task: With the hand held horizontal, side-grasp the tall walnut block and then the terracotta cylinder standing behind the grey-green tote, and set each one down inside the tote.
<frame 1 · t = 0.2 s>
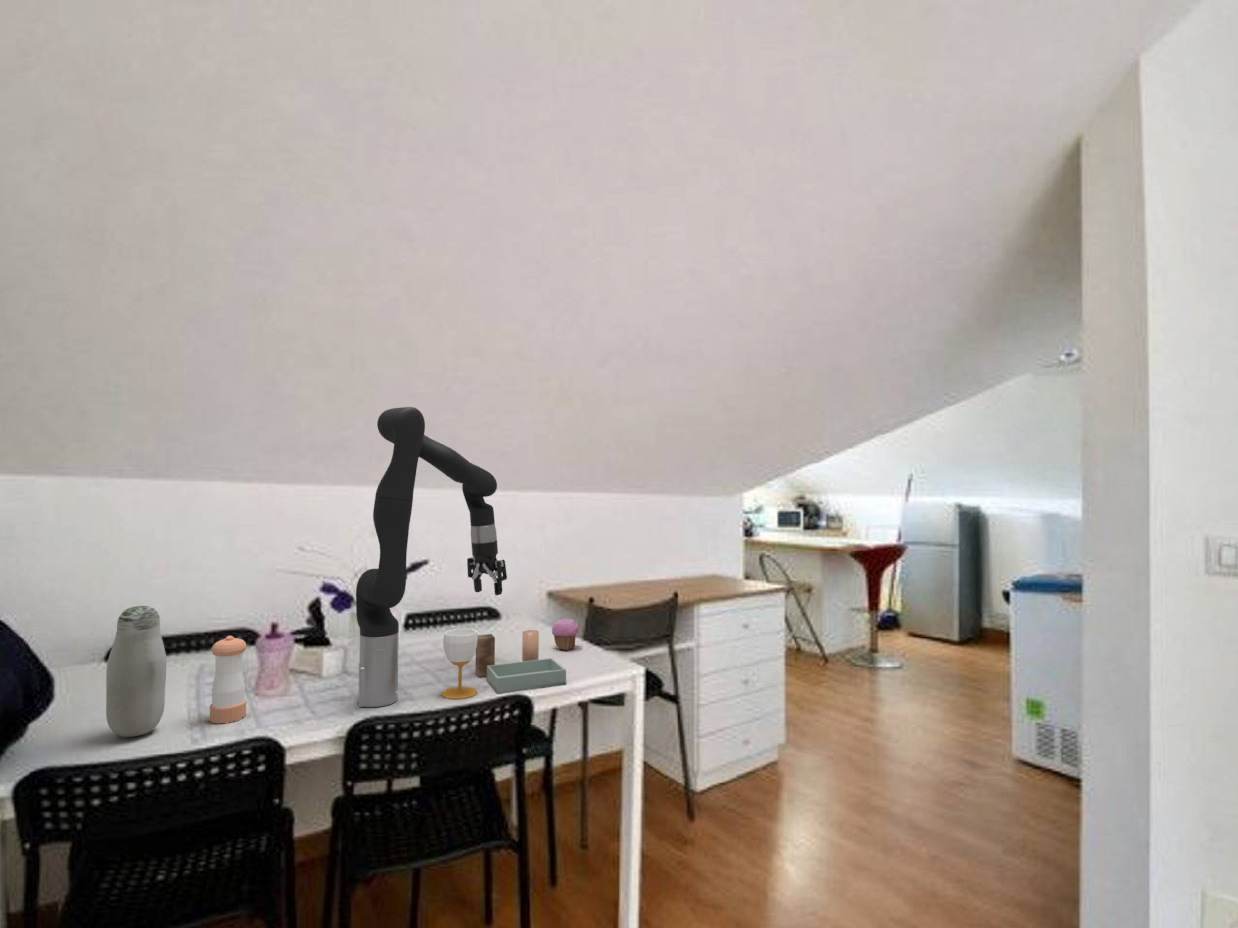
hand: (488, 593, 191), 22 cm above the table, tool pointing down, fingers open, 8 cm apart
tote: (525, 682, 177), on the table
walnut block: (484, 674, 184), on the table
terracotta cylinder: (530, 669, 189), on the table
grey bottle: (135, 735, 140), on the table
salt shaker: (227, 718, 150), on the table
cupcake: (565, 649, 212), on the table
cup: (459, 694, 168), on the table
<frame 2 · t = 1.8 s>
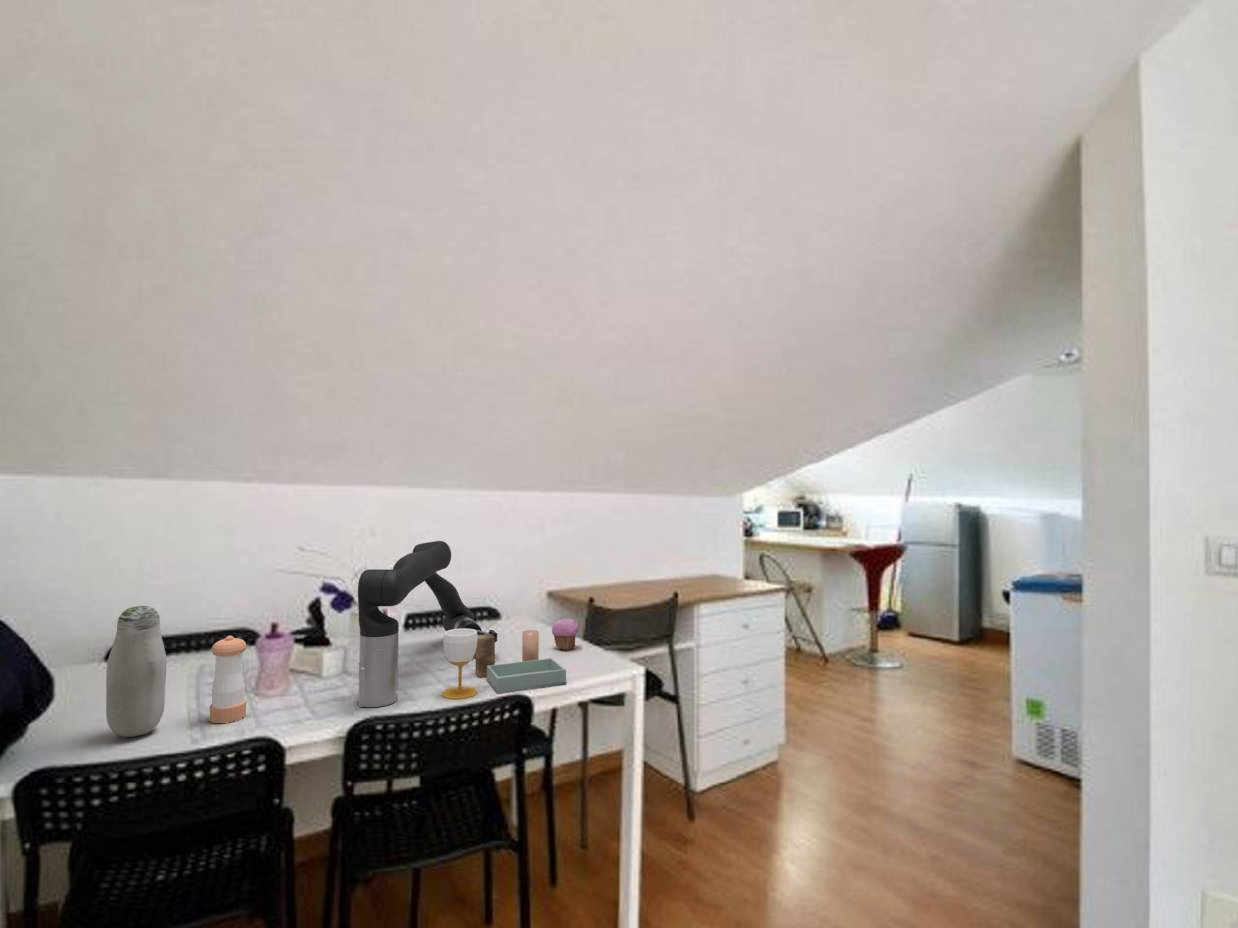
hand: (477, 643, 193), 7 cm above the table, tool horizontal, fingers open, 8 cm apart
nothing on the table moved.
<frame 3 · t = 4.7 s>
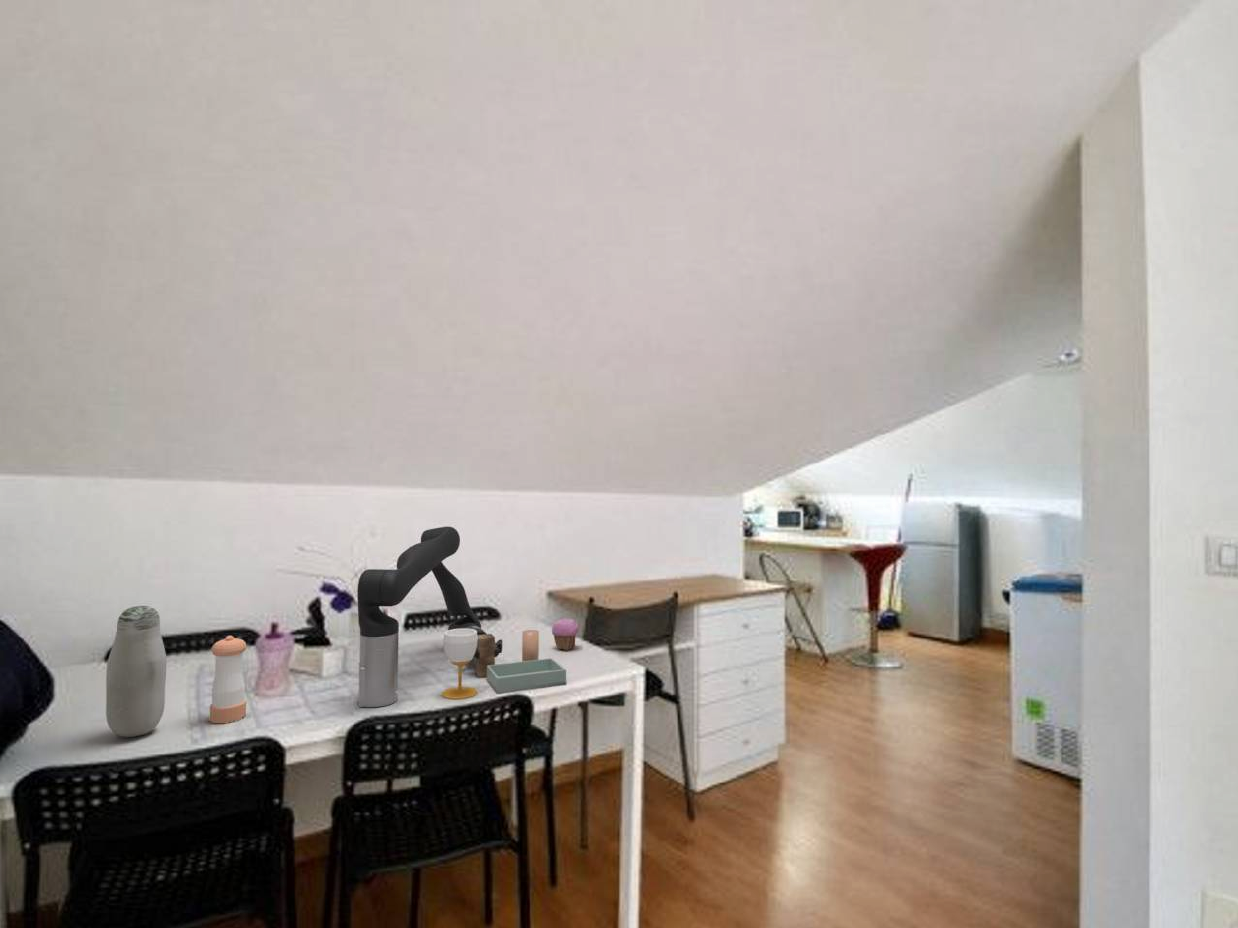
hand: (487, 654, 181), 7 cm above the table, tool horizontal, fingers closed on walnut block, 4 cm apart
walnut block: (485, 674, 184), on the table, touching gripper
everything else where it was.
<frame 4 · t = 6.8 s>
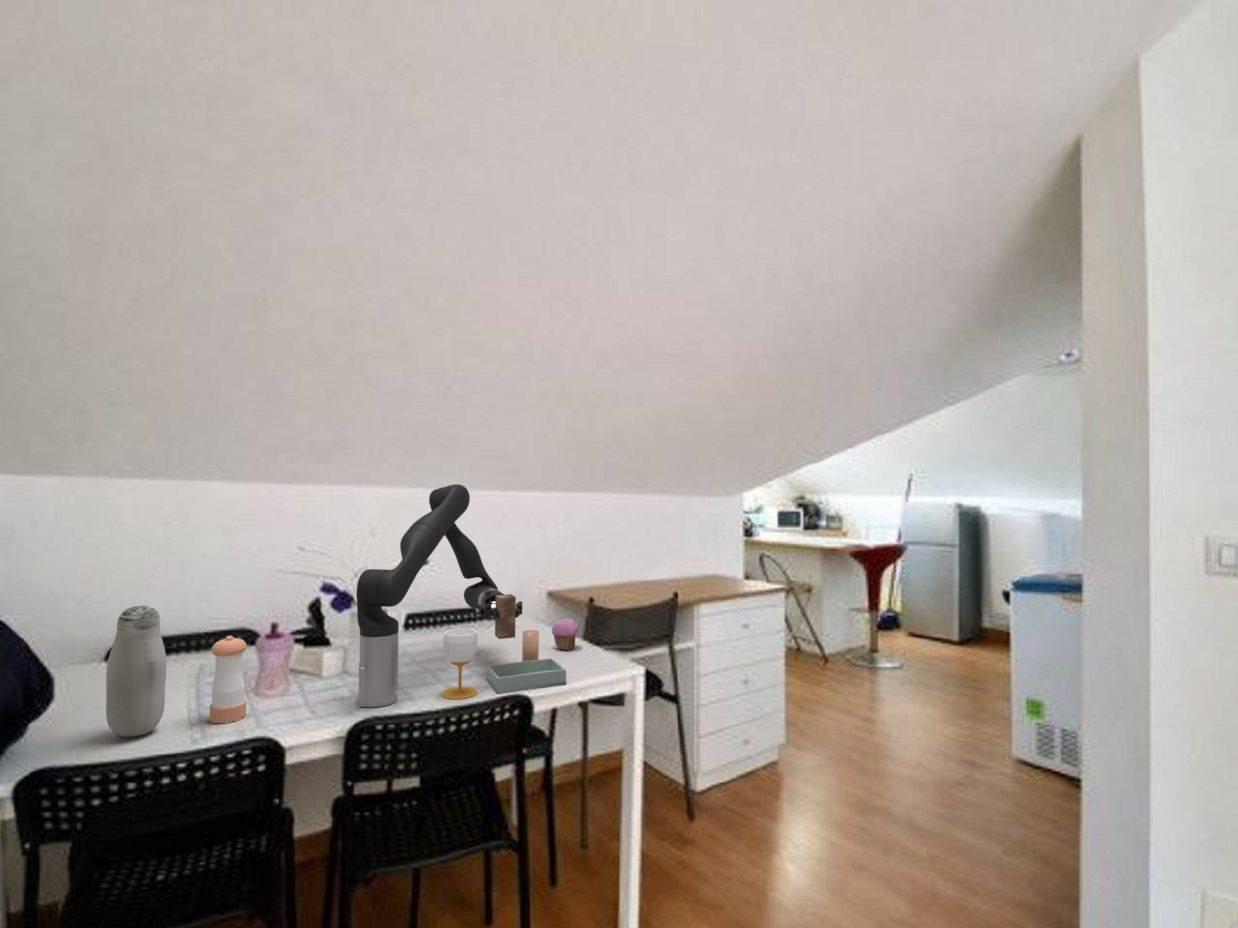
hand: (507, 614, 173), 20 cm above the table, tool horizontal, fingers closed on walnut block, 4 cm apart
walnut block: (505, 636, 175), point 13 cm above the table, touching gripper
everything else where it was.
when the fingers open (9 cm above the table, at t = 9.1 s): walnut block drops 2 cm, resting on tote.
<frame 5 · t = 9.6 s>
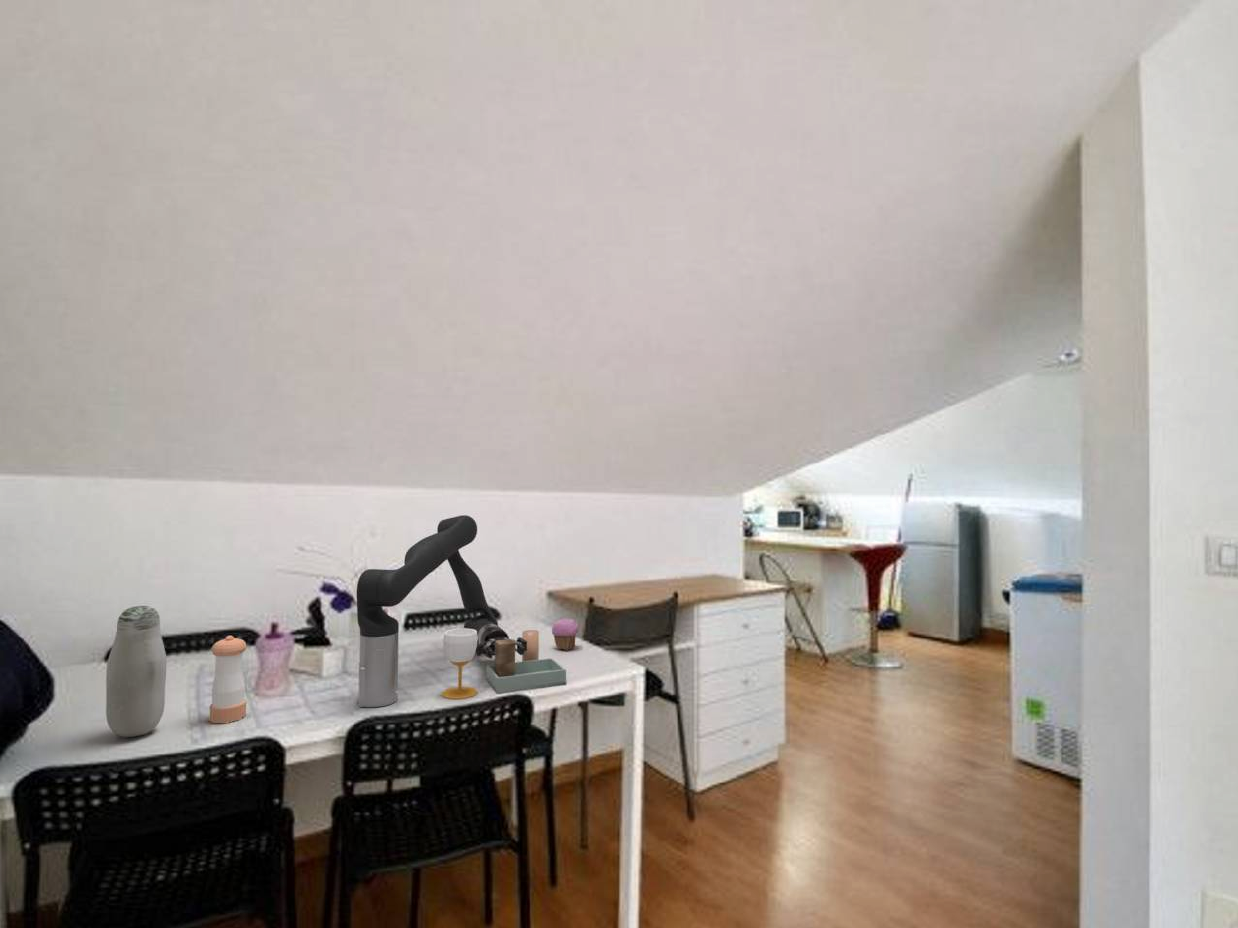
hand: (506, 652, 173), 9 cm above the table, tool horizontal, fingers open, 8 cm apart
walnut block: (504, 681, 175), point 1 cm above the table, touching tote
everything else where it was.
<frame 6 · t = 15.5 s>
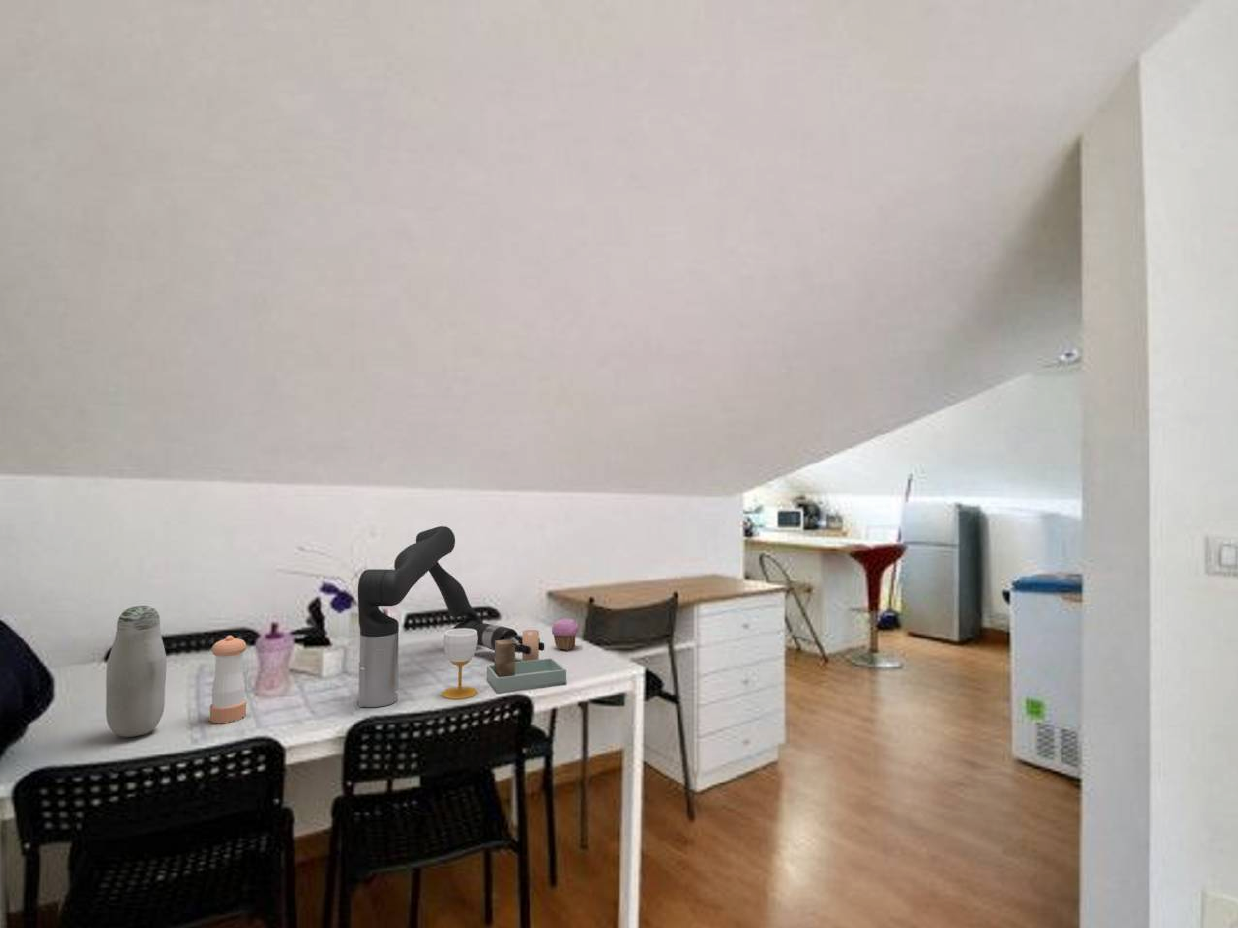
hand: (536, 648, 188), 7 cm above the table, tool horizontal, fingers closed on terracotta cylinder, 4 cm apart
terracotta cylinder: (530, 669, 189), on the table, touching gripper
everything else where it was.
when the fingers open (9 cm above the table, at t = 20.4 s): terracotta cylinder drops 2 cm, resting on tote.
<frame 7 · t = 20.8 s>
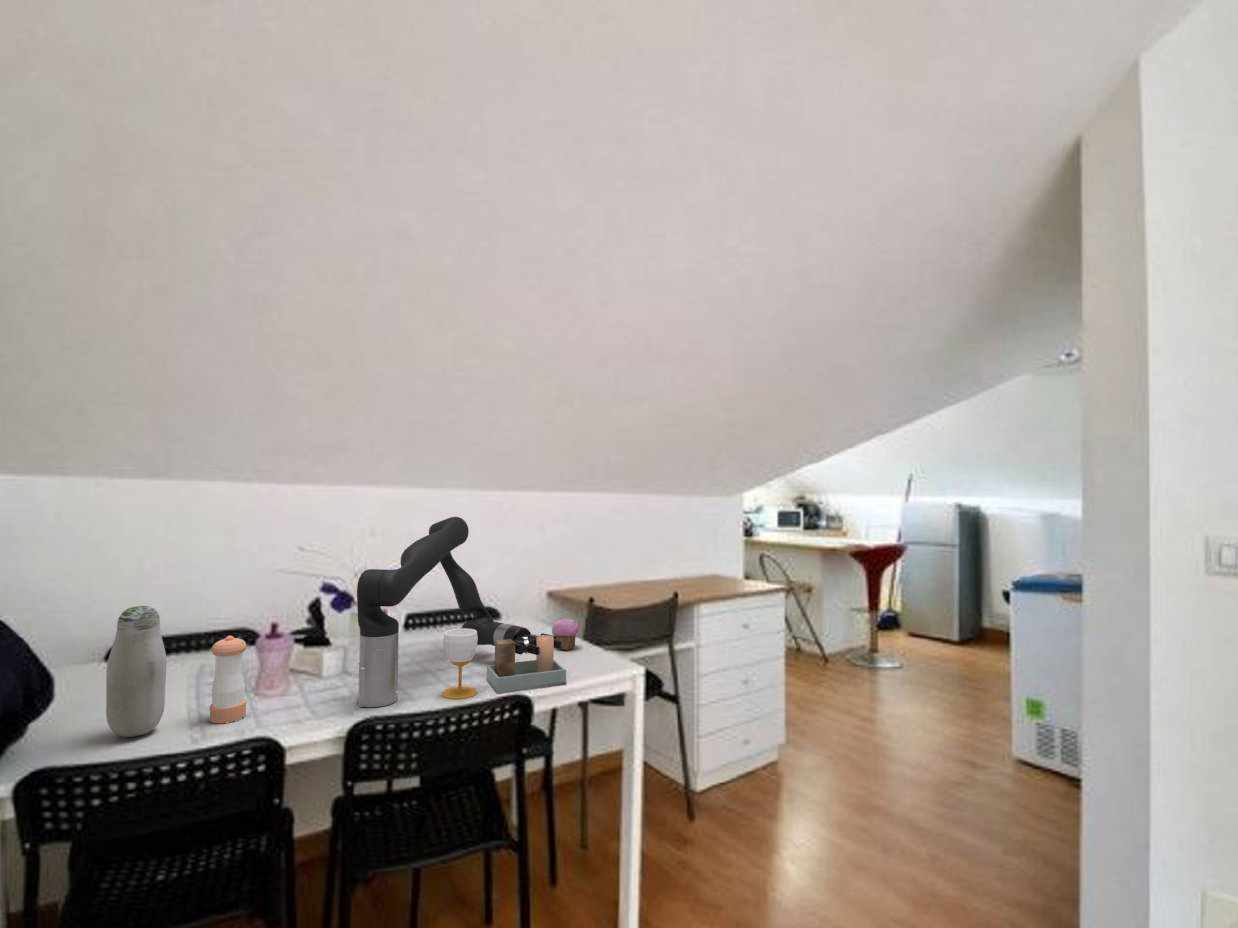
hand: (549, 648, 179), 9 cm above the table, tool horizontal, fingers open, 8 cm apart
terracotta cylinder: (544, 676, 180), point 1 cm above the table, touching tote
everything else where it was.
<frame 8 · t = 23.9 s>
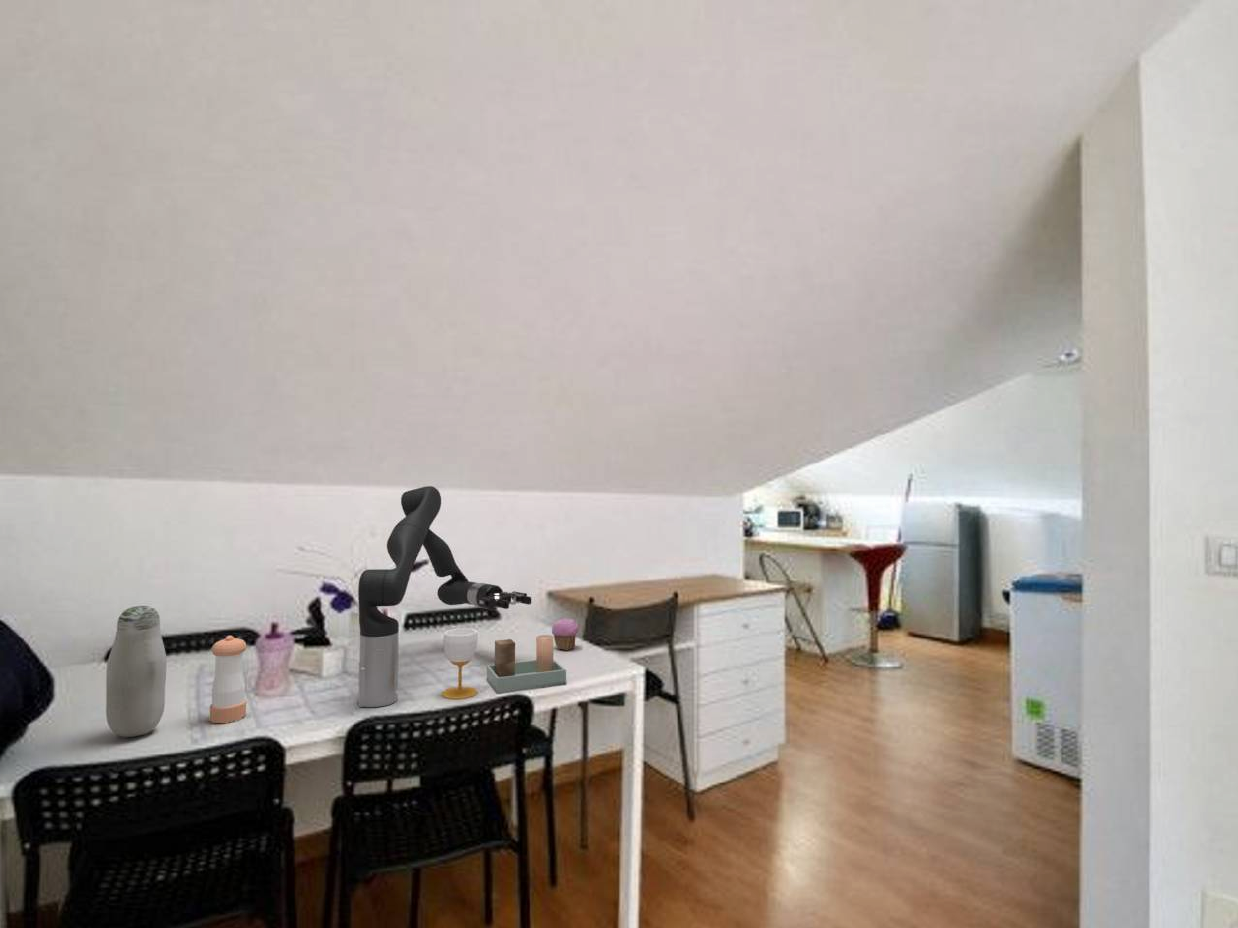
hand: (519, 602, 187), 20 cm above the table, tool horizontal, fingers open, 8 cm apart
nothing on the table moved.
at the end: walnut block inside the target area on the tote (6.0 cm from its centre), point 0.8 cm above the tote's base; terracotta cylinder inside the target area on the tote (5.6 cm from its centre), point 0.8 cm above the tote's base; terracotta cylinder tilted 1° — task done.
